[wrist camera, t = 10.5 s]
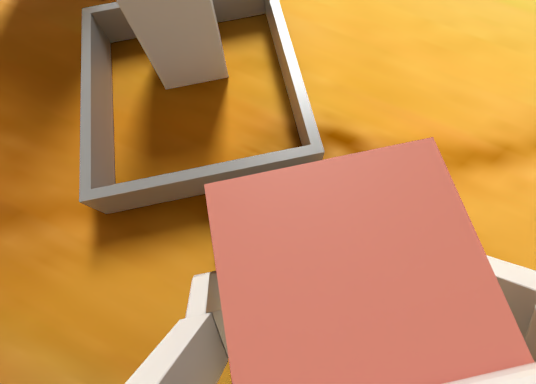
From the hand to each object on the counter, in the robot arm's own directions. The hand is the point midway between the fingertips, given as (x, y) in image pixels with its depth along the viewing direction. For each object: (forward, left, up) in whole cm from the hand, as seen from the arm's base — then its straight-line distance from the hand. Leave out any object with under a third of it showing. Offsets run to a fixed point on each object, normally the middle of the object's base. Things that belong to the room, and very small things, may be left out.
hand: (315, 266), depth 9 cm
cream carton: (0, -1, -5) cm, 5 cm away
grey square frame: (-4, +13, -7) cm, 15 cm away
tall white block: (-4, +17, -7) cm, 19 cm away
